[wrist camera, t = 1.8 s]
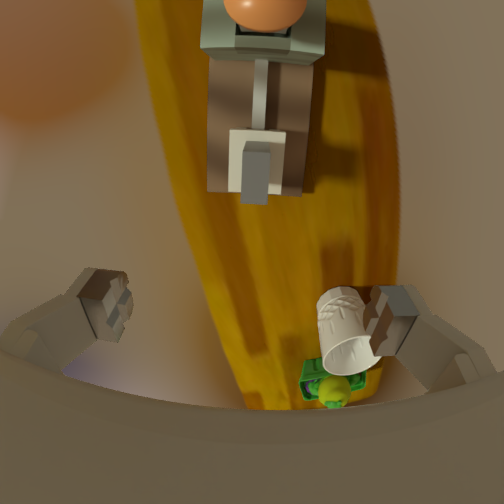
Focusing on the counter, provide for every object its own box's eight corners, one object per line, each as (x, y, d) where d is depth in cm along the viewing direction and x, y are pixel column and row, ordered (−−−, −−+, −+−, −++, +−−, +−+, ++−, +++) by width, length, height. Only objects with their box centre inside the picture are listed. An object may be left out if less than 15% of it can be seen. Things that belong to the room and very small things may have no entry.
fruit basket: (302, 379, 49) (307, 431, 39) (294, 353, 45) (299, 411, 35) (359, 366, 47) (372, 416, 37) (359, 338, 43) (376, 394, 33)
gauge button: (231, -12, 13) (226, -32, 10) (299, -8, 13) (307, -28, 10) (228, 41, 16) (220, 29, 12) (297, 45, 16) (305, 33, 12)
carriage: (232, 127, 25) (221, 137, 18) (283, 129, 25) (293, 141, 18) (230, 184, 28) (220, 214, 21) (279, 186, 28) (285, 217, 21)
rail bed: (215, 13, 20) (198, -16, 13) (313, 18, 20) (332, -8, 13) (209, 187, 30) (193, 218, 23) (299, 192, 30) (312, 225, 23)
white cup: (371, 306, 39) (391, 357, 30) (326, 330, 41) (337, 382, 33) (351, 272, 36) (373, 325, 27) (302, 300, 38) (311, 356, 30)
